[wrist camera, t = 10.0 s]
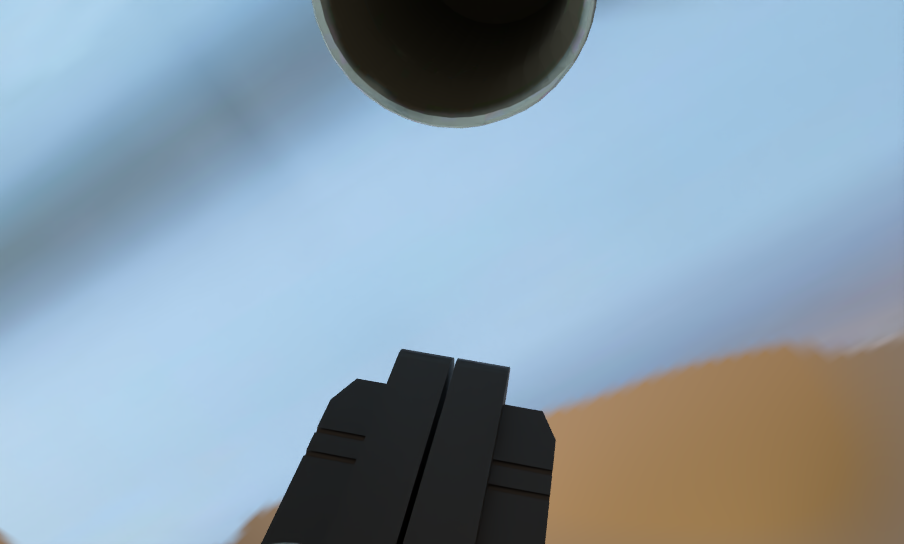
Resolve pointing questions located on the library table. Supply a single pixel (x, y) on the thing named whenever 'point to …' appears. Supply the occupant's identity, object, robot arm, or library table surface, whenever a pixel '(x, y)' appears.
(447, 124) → the grey green cup
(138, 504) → the library table surface
